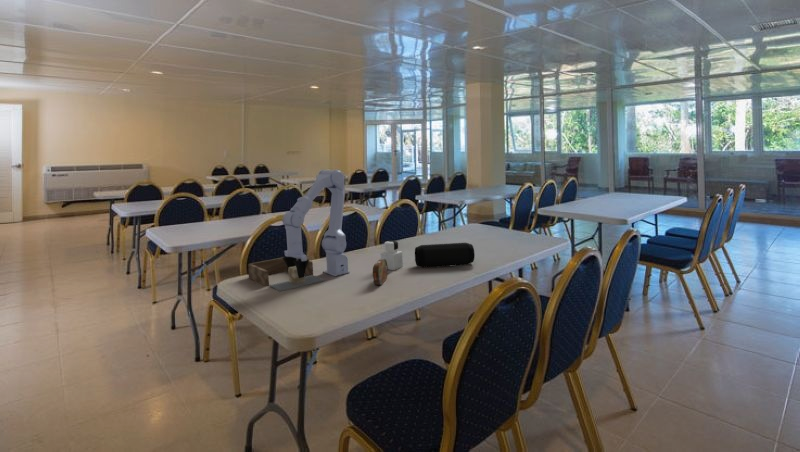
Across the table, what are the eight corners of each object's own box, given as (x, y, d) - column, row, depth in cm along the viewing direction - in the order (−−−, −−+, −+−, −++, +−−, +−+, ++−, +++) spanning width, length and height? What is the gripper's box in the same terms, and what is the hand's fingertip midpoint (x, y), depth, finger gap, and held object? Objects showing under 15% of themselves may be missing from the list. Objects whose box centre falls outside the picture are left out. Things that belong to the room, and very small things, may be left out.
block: (304, 282, 174) (303, 267, 173) (294, 284, 171) (293, 269, 170) (299, 279, 177) (298, 265, 176) (289, 282, 174) (288, 267, 173)
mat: (323, 280, 177) (323, 279, 177) (280, 291, 164) (280, 289, 164) (312, 276, 183) (312, 275, 183) (269, 286, 171) (269, 284, 171)
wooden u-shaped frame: (313, 275, 185) (312, 261, 184) (266, 286, 171) (265, 271, 170) (294, 268, 197) (293, 255, 196) (248, 277, 184) (247, 263, 183)
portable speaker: (468, 261, 203) (468, 240, 201) (475, 266, 193) (475, 244, 191) (414, 264, 199) (414, 243, 197) (418, 270, 189) (418, 248, 188)
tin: (379, 287, 166) (379, 266, 165) (371, 287, 167) (371, 266, 165) (388, 276, 181) (388, 256, 179) (381, 276, 181) (380, 256, 180)
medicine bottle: (390, 264, 199) (389, 239, 197) (403, 266, 195) (402, 240, 193) (380, 268, 194) (379, 242, 192) (393, 270, 190) (393, 243, 188)
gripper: (276, 241, 174) (279, 274, 176) (294, 246, 163) (296, 281, 165) (292, 238, 178) (294, 270, 181) (310, 243, 168) (312, 277, 170)
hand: (296, 275), depth 173 cm, fingers open, 7 cm apart
